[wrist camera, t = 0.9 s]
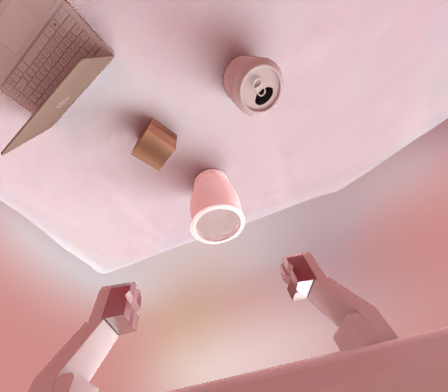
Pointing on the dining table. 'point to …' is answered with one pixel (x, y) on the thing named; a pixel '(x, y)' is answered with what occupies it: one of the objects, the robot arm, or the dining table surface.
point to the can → (253, 84)
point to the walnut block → (155, 145)
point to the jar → (215, 208)
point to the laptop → (46, 60)
